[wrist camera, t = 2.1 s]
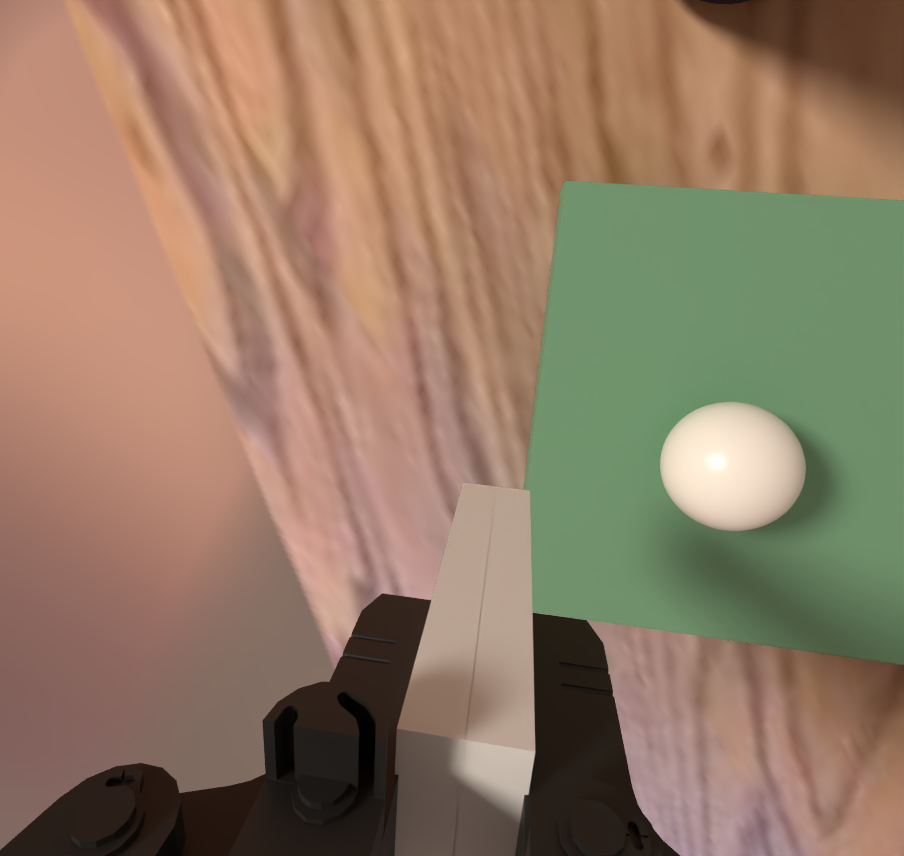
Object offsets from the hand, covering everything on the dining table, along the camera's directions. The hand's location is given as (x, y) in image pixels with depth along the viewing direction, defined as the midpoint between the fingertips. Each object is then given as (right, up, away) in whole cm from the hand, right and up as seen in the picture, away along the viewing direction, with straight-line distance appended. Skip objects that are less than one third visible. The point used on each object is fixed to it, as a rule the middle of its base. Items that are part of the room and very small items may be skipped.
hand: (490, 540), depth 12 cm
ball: (+8, +2, +6) cm, 10 cm away
